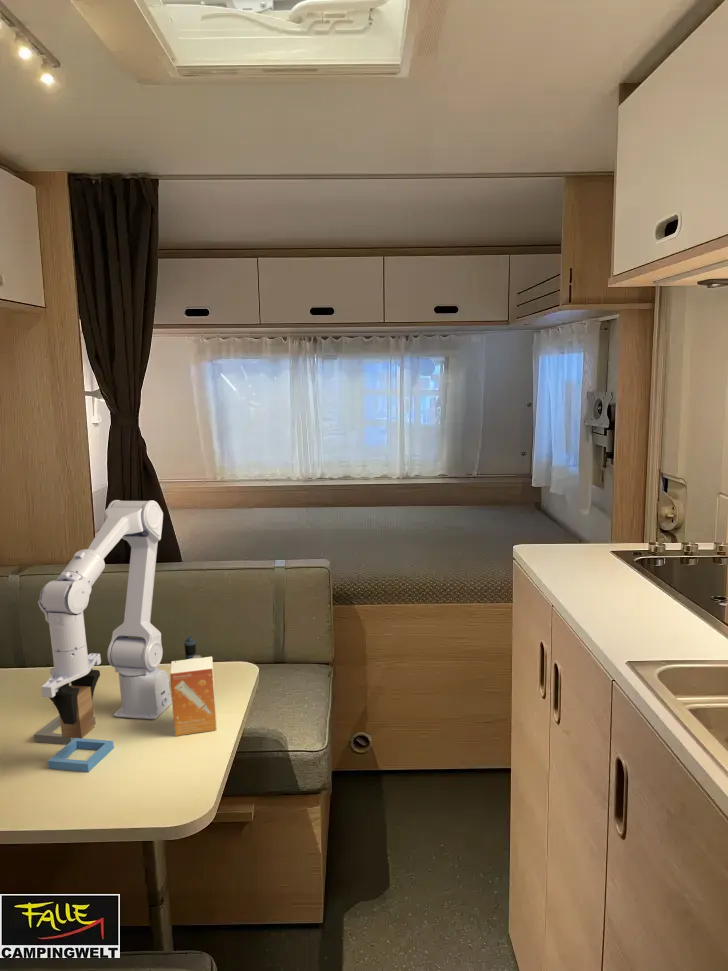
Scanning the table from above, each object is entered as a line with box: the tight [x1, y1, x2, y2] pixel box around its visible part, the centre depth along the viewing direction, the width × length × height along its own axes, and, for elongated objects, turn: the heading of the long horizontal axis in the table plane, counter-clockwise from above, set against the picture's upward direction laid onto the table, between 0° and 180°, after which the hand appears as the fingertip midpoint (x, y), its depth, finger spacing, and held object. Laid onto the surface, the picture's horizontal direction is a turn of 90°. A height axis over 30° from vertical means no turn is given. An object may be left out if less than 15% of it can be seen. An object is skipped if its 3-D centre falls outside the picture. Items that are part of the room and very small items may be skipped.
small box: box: [169, 656, 218, 737], centre depth 137 cm, size 8×6×13 cm
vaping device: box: [184, 636, 203, 660], centre depth 153 cm, size 3×5×12 cm, turn 45°
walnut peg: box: [58, 684, 96, 739], centre depth 126 cm, size 4×4×8 cm
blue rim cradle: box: [47, 737, 115, 773], centre depth 128 cm, size 8×8×2 cm
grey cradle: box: [33, 715, 96, 745], centre depth 137 cm, size 8×8×2 cm
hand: (77, 717), depth 126 cm, fingers closed on walnut peg, 4 cm apart
